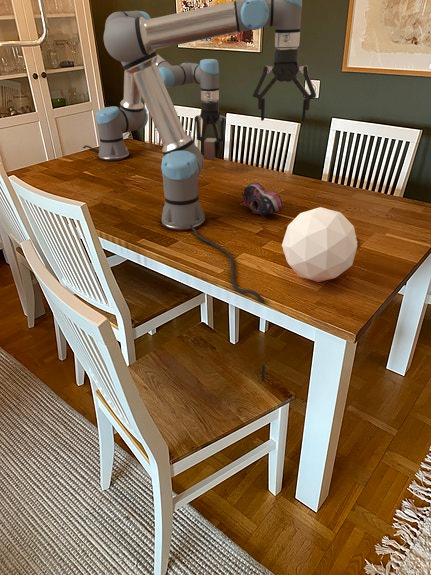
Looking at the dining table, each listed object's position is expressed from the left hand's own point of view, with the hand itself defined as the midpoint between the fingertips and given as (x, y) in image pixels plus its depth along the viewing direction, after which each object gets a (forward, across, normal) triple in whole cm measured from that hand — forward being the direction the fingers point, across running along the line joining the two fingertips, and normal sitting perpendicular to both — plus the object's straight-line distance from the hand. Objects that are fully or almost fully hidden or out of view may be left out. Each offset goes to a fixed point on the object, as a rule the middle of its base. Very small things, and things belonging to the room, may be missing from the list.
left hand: (211, 156), depth 198 cm
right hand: (-25, +34, -36) cm, 56 cm away
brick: (+1, 0, 0) cm, 1 cm away
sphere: (+6, +51, -83) cm, 98 cm away
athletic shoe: (+7, +28, -41) cm, 50 cm away
